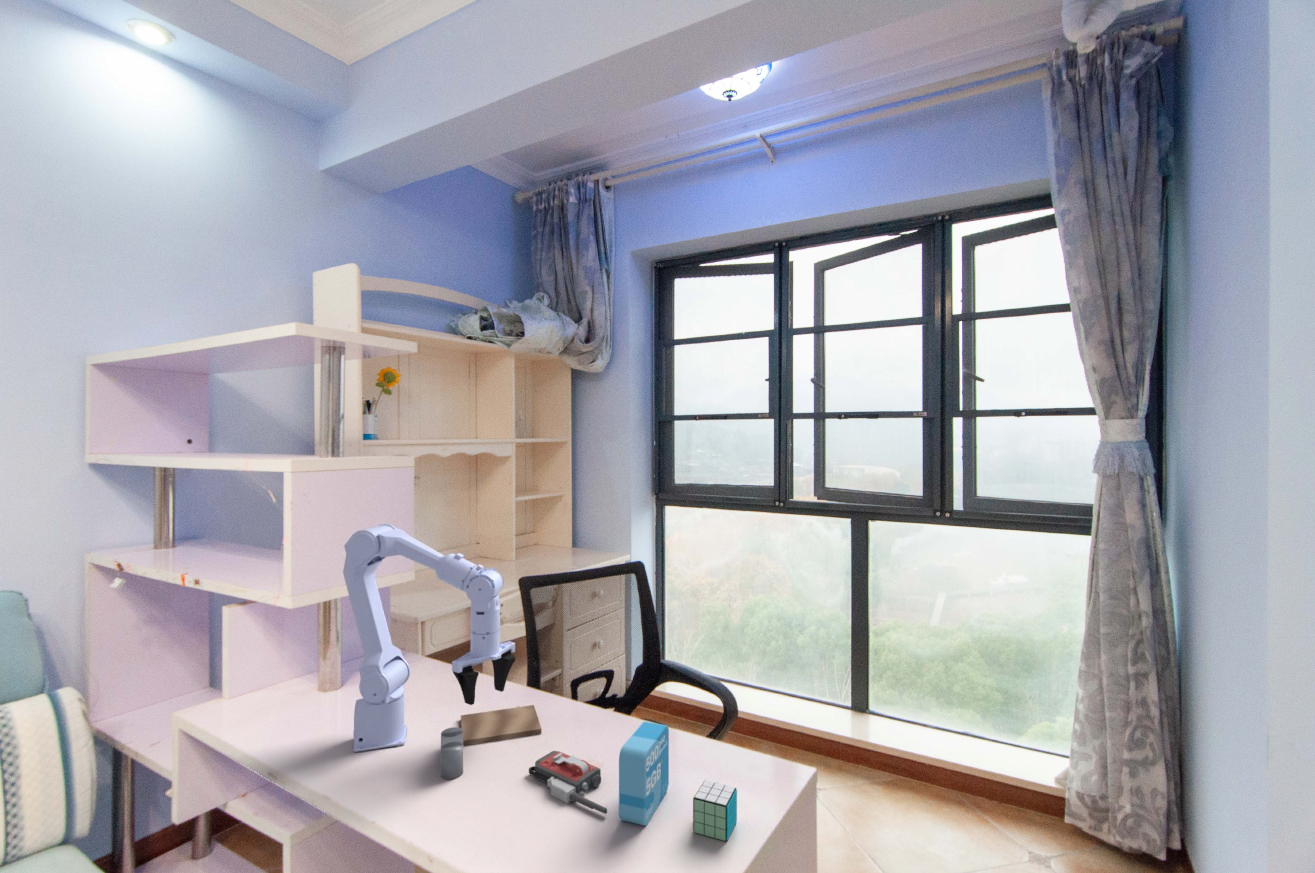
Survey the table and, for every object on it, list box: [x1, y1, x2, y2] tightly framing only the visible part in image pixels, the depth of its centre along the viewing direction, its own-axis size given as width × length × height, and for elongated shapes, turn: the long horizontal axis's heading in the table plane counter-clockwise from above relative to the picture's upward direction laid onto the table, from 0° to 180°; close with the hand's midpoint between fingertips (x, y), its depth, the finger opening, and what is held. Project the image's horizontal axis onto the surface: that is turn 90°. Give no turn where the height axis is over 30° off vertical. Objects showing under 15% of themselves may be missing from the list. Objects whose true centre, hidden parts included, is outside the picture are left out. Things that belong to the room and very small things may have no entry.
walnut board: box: [460, 704, 542, 747], centre depth 131 cm, size 16×12×1 cm
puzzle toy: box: [692, 779, 738, 842], centre depth 97 cm, size 6×6×6 cm
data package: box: [618, 721, 670, 826], centre depth 103 cm, size 12×4×12 cm, turn 160°
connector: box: [440, 726, 464, 781], centre depth 116 cm, size 4×13×5 cm, turn 19°
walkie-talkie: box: [528, 750, 608, 815], centre depth 108 cm, size 9×4×20 cm
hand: (484, 696), depth 123 cm, fingers open, 7 cm apart
